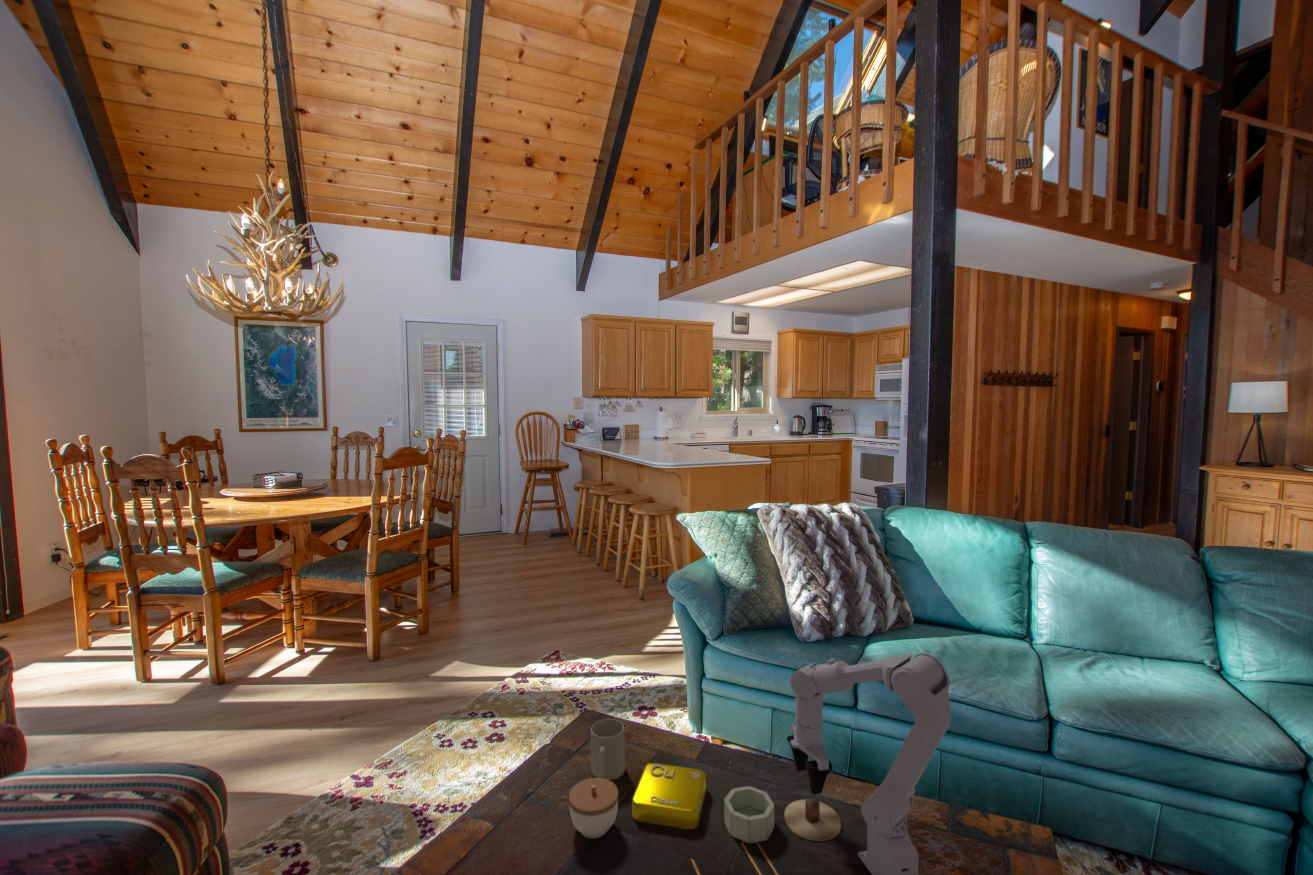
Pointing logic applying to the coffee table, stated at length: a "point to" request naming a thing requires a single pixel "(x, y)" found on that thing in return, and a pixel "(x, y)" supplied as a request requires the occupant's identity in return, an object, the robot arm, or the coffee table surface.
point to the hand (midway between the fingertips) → (808, 780)
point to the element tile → (669, 796)
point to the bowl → (749, 814)
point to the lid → (812, 820)
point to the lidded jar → (593, 806)
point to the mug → (607, 749)
